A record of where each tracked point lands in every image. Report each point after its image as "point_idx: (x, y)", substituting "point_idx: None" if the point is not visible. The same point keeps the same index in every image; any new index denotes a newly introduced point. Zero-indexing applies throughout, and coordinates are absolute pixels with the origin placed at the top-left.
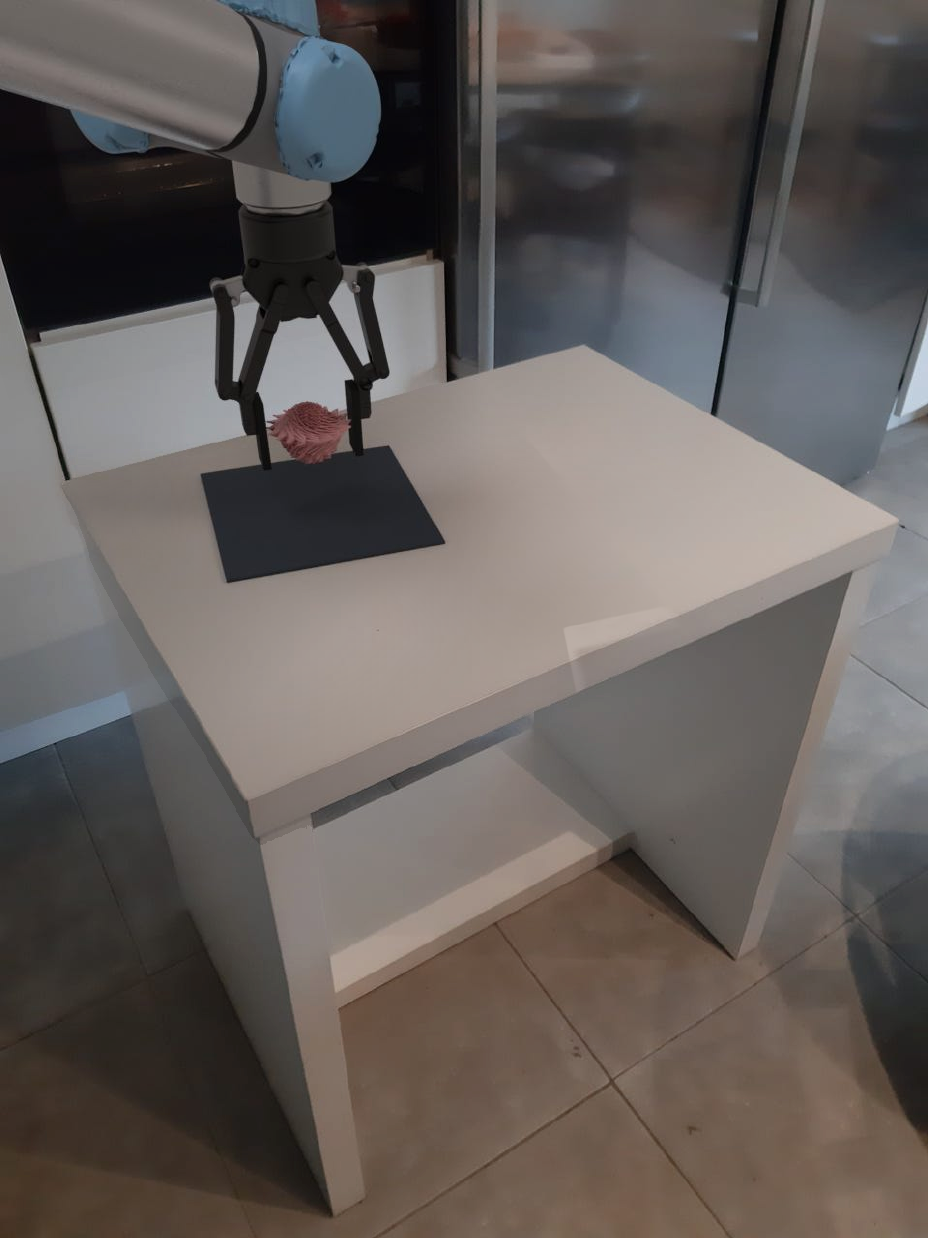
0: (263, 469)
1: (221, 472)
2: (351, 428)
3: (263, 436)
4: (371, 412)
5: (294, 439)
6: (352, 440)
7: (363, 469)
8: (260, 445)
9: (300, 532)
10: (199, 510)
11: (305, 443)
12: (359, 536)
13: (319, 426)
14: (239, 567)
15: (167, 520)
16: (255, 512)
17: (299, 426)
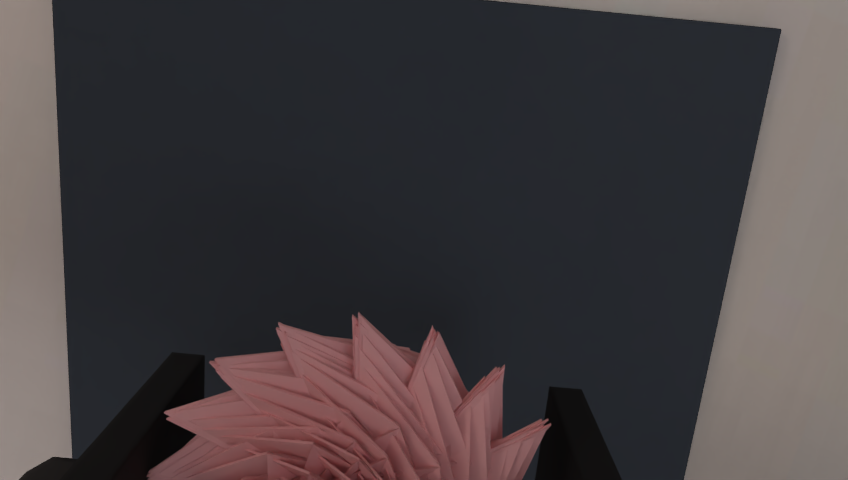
0: (582, 393)
1: None
2: (166, 455)
3: (599, 472)
4: (26, 472)
5: (466, 396)
6: None
7: None
8: (607, 451)
9: (482, 202)
10: (712, 450)
11: (429, 333)
12: (314, 103)
13: (323, 428)
14: (721, 83)
15: (813, 434)
16: (573, 367)
17: (423, 457)
